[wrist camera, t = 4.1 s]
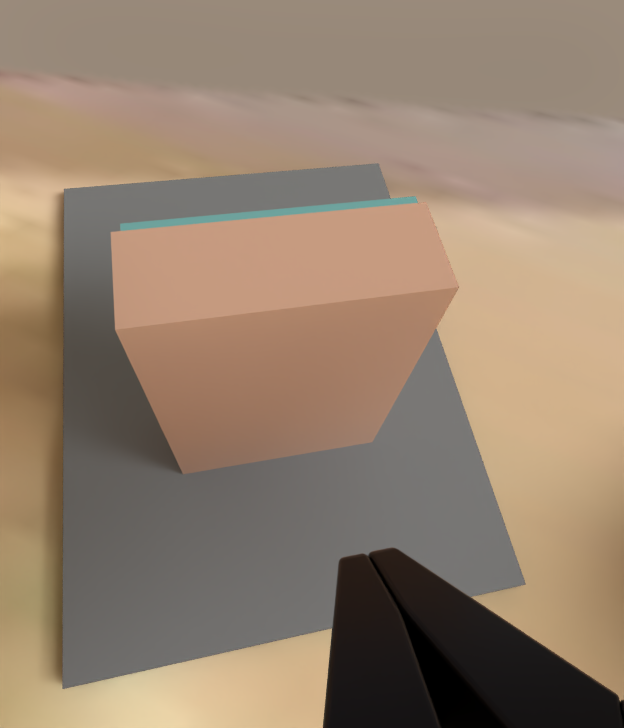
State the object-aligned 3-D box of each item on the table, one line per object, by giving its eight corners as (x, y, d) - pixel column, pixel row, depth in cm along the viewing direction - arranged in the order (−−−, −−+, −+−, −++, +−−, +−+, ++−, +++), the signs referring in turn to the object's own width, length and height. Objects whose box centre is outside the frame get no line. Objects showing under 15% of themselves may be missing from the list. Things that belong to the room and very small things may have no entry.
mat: (518, 586, 19) (525, 584, 18) (69, 687, 16) (62, 688, 16) (376, 172, 28) (378, 163, 27) (68, 198, 25) (64, 189, 25)
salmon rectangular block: (372, 442, 20) (458, 287, 11) (183, 474, 19) (114, 329, 10) (356, 380, 21) (423, 195, 12) (176, 407, 20) (110, 224, 11)
